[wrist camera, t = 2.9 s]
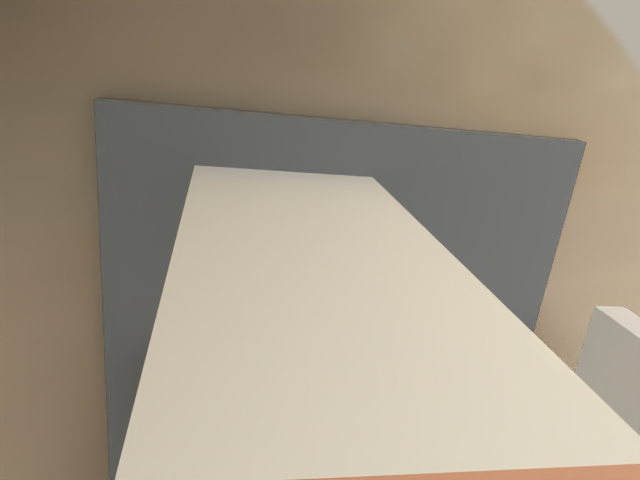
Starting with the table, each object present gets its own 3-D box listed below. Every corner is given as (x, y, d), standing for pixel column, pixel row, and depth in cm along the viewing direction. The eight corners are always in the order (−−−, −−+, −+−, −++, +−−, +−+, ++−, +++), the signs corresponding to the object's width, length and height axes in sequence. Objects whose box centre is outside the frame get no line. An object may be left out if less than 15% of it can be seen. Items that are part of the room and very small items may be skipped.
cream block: (194, 165, 14) (78, 622, 3) (372, 177, 15) (765, 559, 4) (190, 327, 16) (107, 989, 5) (350, 329, 17) (585, 885, 6)
